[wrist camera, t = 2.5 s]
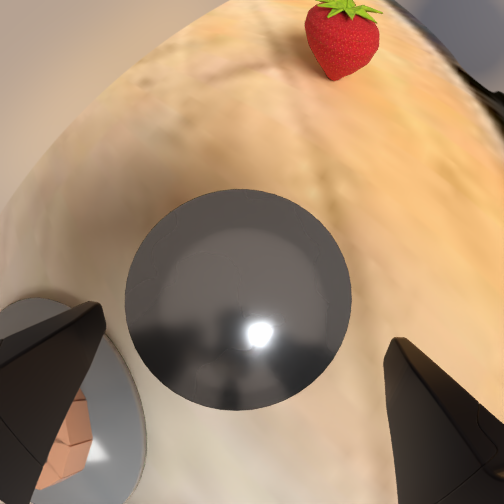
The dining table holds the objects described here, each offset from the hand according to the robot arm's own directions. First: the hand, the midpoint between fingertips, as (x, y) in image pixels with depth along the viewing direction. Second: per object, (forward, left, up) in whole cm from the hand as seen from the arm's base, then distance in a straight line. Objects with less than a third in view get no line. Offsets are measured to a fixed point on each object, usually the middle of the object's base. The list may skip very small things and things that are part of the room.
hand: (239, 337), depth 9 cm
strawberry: (+24, +1, -9) cm, 25 cm away
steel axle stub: (+1, 0, -8) cm, 8 cm away
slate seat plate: (-10, +11, -8) cm, 17 cm away
